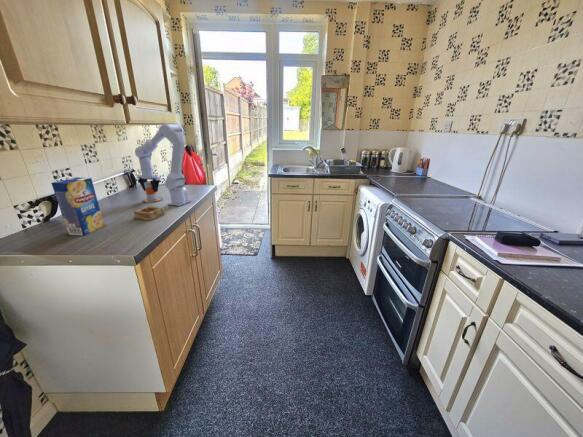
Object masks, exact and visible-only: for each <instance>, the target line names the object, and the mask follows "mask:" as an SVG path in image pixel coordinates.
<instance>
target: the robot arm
mask: <svg viewBox="0 0 583 437" xmlns="http://www.w3.org/2000/svg"><path fill="white" fill-rule="evenodd" d="M184 132H185V131H184V129H183V127H182V126H181V125H180V124H178V123H175V124H173V123H170V124H169V123H162V125H161V126H159V127H158V130H157V132H156V133H155V134H154V136H153V137H152V138H146V140H145V142H144V143H143V144H141V146H140V147H139V146H138V147H136V148H135V149H134V154H135V156H136V158H138V161H139V166H140V172H141V174H137V175H136V178H137V182H138V183H139V184H140V186H141V188H142V190H143V191H144V192H146V190H145V185H144V182H146V181H150V182H151V184H152V186H153V190H154V192H156V193H158V192H159V185H160V182H161V179H160V176H157V175H154V172H153V166H152V155H153V152H154V151H155V150H156V149H157V148H158V146H159V145H158V144H159V143H161V141H163V140H164V139H166V140H168V141H169V142H170V143H171V144H172V152H171V163H170V172H169V173H168V174H167V176H166V179H165V180H164V185H165V187H166V189H168V191H169V195H170V201H171V202H169V203H168V205H170V206H178V207H180V206H183V205H185V204H187V203H189V202H191V200H190V199H189V193H188V190H187V188H186V187H184V186H185V185H186V180H185V175H184V174H183V173H182V171H183V162H184V153H185V139H184Z"/></svg>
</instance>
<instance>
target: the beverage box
mask: <svg viewBox="0 0 583 437" xmlns="http://www.w3.org/2000/svg"><path fill="white" fill-rule="evenodd" d="M51 186H52V189H53V193H54V195H55V198H56V201H57V204H58V207H59V211H60V214H61V216H62V219H63V223H64V226H65V228H66V231H67V234H68V236H86V235H88V234H90V233H92V232H95V231H96V230H98V229H100V228H103V227H105V223H104V220H103V216H102V212H101V208H100V204H99V201H98V197H97V193H96V191H95V190H96V189H95V186H94V182H93V179H92V177H76V176H75V177H71V178H67V179H63V180H58V181H54V182H51Z"/></svg>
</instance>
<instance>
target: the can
mask: <svg viewBox="0 0 583 437" xmlns="http://www.w3.org/2000/svg"><path fill="white" fill-rule="evenodd" d="M150 181H151V180H147V181H146V182H144V185H145V190H146V191H145V194H146V199H147V200H148V201H154V200H157V198H158V196H157V192H154V190H153V186H152V184H151V182H150Z"/></svg>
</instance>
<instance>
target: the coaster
mask: <svg viewBox="0 0 583 437" xmlns="http://www.w3.org/2000/svg"><path fill="white" fill-rule="evenodd" d="M161 200H162V199H161V197H157V200H154V201H148V200H147V198H144V199H143V202H144V203H148V204H149V203H157V202H160V201H161Z"/></svg>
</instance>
